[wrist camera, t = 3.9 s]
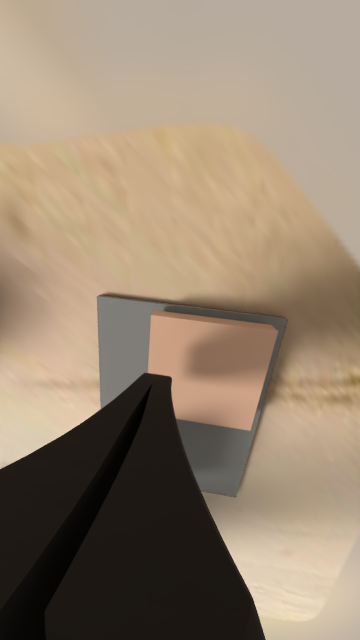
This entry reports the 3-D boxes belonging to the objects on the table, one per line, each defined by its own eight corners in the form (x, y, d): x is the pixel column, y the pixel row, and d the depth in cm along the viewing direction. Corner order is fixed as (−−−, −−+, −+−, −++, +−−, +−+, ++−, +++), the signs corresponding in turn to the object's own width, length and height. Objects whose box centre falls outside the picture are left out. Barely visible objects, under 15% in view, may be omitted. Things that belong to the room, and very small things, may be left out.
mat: (105, 468, 16) (103, 473, 16) (100, 294, 12) (96, 296, 11) (235, 491, 16) (235, 497, 15) (284, 317, 11) (287, 319, 11)
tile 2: (145, 413, 12) (250, 430, 11) (151, 315, 10) (278, 331, 9) (150, 398, 13) (245, 412, 13) (156, 308, 11) (268, 322, 11)
